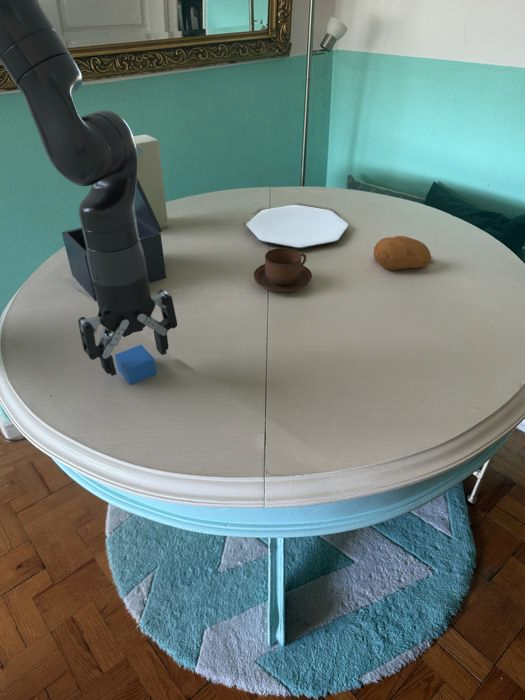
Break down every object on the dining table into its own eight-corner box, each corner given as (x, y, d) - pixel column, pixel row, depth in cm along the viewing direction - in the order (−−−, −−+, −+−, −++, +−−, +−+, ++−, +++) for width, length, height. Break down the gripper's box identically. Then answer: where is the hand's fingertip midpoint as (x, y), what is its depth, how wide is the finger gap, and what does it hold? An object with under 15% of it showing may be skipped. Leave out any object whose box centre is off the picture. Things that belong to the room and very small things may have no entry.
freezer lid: (122, 156, 92) (147, 142, 93) (95, 140, 100) (118, 127, 101) (158, 232, 103) (180, 219, 105) (131, 212, 112) (151, 200, 113)
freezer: (95, 300, 102) (84, 255, 96) (72, 275, 111) (61, 232, 105) (166, 277, 110) (160, 234, 104) (140, 255, 118) (133, 213, 112)
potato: (366, 262, 115) (372, 230, 112) (421, 263, 117) (428, 233, 114) (376, 273, 109) (382, 240, 106) (433, 275, 111) (441, 243, 107)
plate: (362, 241, 124) (363, 235, 123) (271, 258, 117) (271, 252, 116) (318, 206, 141) (318, 200, 140) (236, 219, 134) (236, 213, 133)
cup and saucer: (273, 263, 115) (273, 238, 111) (321, 278, 109) (323, 251, 106) (242, 286, 107) (241, 259, 103) (292, 303, 101) (293, 276, 98)
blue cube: (131, 392, 81) (126, 369, 78) (119, 377, 84) (114, 354, 81) (158, 381, 83) (154, 358, 80) (145, 366, 86) (141, 344, 83)
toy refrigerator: (155, 217, 135) (144, 132, 123) (169, 226, 131) (159, 139, 118) (127, 224, 132) (113, 138, 119) (140, 234, 127) (126, 145, 114)
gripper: (153, 247, 77) (166, 335, 87) (58, 275, 71) (84, 367, 81) (177, 266, 73) (188, 357, 82) (78, 298, 66) (103, 393, 76)
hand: (137, 362), depth 81 cm, fingers open, 8 cm apart
